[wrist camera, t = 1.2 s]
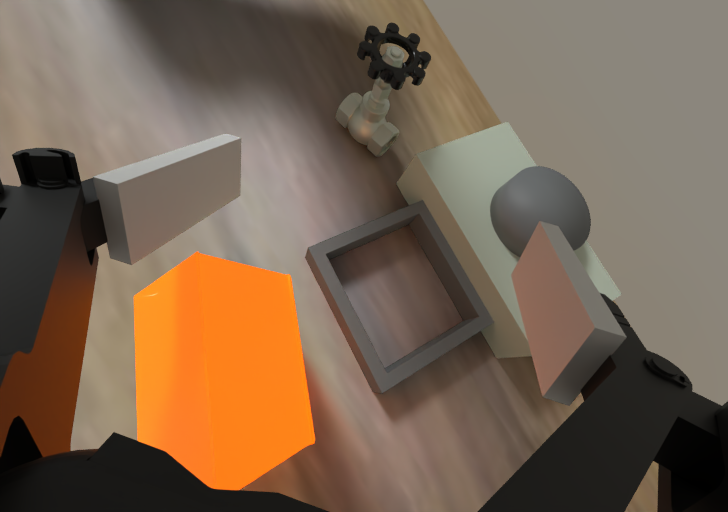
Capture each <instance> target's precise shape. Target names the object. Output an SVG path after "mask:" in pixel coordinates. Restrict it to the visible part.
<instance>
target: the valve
mask: <svg viewBox="0 0 728 512" xmlns="http://www.w3.org/2000/svg"><path fill="white" fill-rule="evenodd" d="M398 32H399V27H398V26H397V25H396V24H395V23H389V24H388V25H387V28H386V31H385V33H380V32H379V30H378V28H377V27H375V26H369V27H368V28H367V30H366V34H365V41H362V42H361V43H360V44H359V48H358V52H357V56H358V57H359V58H360V59H362V60H364V59H365V56H370V58H371V60H372V62H371V63H370V66H369V69H368V76H369V77H370V78H372V79H376V80H375V82H374V85H373V89H372V91H368V92H366V93H365V94H364V96H363V97H362V96H361V95H360V94H358V93H351V94H350V95H348V96H347V97H346V98H345V99H344V100H343V101H342V103H341V104H340V106H339V107H338V109H337V112H336V120H337V121H338V122H339V123H340V124H341V125H342V126H343V127H344V128H348V129H349V132H350V134H351V135H352V137H353V138H354V139H355V140H356V141H357V142H359V143H361V144H363V145H368V146H367V149H368V150H370V151H371V152H372V153H373V154H374V155H375V156H376V157H379V156H381V155H383V154H384V153H385V152H386V151H387V150H388V149H389V148H390V147H391V145H392V144H393V143H394V142H395V140H396V139H397V137H398V135H399V130H398V129H397V128H396V127H395V126H394V125H393V124H391V123H390V122H386V119H385V116H386V115H387V113H388V110H389V108H390V103H389V100H388V99H387V98H388V96H389V93H390V91H391V88H393V89H395V90H399V89H401V88H402V86H403V84H404V82H405V79H406V77H409V76H411V77H412V78H413V81H412V84H414V85H420V84H421V83H422V81H423V79H424V77H425V71H424V70H423V69H426V68H427V66H428V64H429V62H430V60H431V56H430V54H429V53H427V52H425V51H423V52H419V51H417V47H418V44H419V42H420V37H419V36H418V35H417V34H414V33H411V34H410V35H409V36H408V37H407V38H406V37H403V36H401V35H400V34H399V33H398ZM369 40H371V41H372V43H371V44H370V43H369V42H368V41H369ZM384 43H393V44H397V45H399V46H401V47H402V48H404V49H405V50H406V51H407V52H408V54H409V57H408V59H407V61H406V62H405V63H403V58H404V52H403V51H402V50H401V49H400V48H398V47H396V46H390V47H388V48H387V50H386V53H385V54H384V55H383V56H381V54H380V51H379V50H380V46H381V44H384ZM419 64H421V68H420V67H418V65H419Z"/></svg>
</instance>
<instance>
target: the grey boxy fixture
mask: <svg viewBox="0 0 728 512" xmlns="http://www.w3.org/2000/svg"><path fill="white" fill-rule="evenodd" d="M396 184H397V186H398V188H399V190H400V191H401V193H402V195H403V196H404V198H405V200H406V202H407V203H408V205H409V206H407V207H404V208H402V209H399V210H397V211H395V212H392V213H390V214H387V215H385V216H383V217H380V218H378V219H375V220H373V221H371V222H368V223H366V224H363V225H361V226H359V227H356V228H354V229H351V230H349V231H347V232H344V233H342V234H339V235H337V236H335V237H332V238H330V239H327V240H325V241H323V242H320V243H318V244H316V245H313V246H311V247H308V250H307V253H306V256H305V258H306V260H307V262H308V264H309V266H310V268H311V270H312V272H313V274H314V276H315V278H316V280H317V282H318V284H319V286H320V288H321V290H322V292H323V294H324V296H325V298H326V300H327V302H328V304H329V306H330V308H331V310H332V312H333V314H334V316H335V318H336V320H337V322H338V324H339V326H340V328H341V330H342V332H343V334H344V336H345V338H346V340H347V342H348V344H349V346H350V348H351V350H352V352H353V354H354V356H355V358H356V360H357V361H358V363H359V365H360V367H361V369H362V371H363V373H364V375H365V377H366V379H367V381H368V383H369V385H370V387H371V389H372V391H373V392H377V393H384V392H385V391H387V390H388V389H390V388H391V387H393V386H395V385H396V384H398V383H399V382H401V381H402V380H404V379H406V378H407V377H409V376H410V375H412V374H413V373H415V372H417V371H418V370H420V369H421V368H423V367H424V366H426V365H428V364H429V363H431V362H432V361H434V360H436V359H437V358H439V357H440V356H442V355H443V354H445V353H447V352H448V351H450V350H451V349H453V348H454V347H456V346H458V345H459V344H461V343H462V342H464V341H465V340H467V339H469V338H470V337H472V336H473V335H475V334H476V333H478V332H480V331H481V332H482V334H483V336H484V337H485V339H486V341H487V343H488V344H489V346H490V348H491V350H492V351H493V353H494V355H495V356H496V358H511V357H527V356H532V355H531V351H530V347H529V343H528V339H527V335H526V332H525V328H524V324H523V320H522V316H521V312H520V308H519V304H518V301H517V297H516V293H515V289H514V285H513V281H512V277H511V274H512V272H513V270H514V268H515V267H516V265H517V263H518V261H519V259H520V257H521V255H522V253H523V251H524V249H525V248H526V246H527V244H528V242H529V240H530V238H531V236H532V234H533V232H534V230H535V228H536V227H537V225H538V223H539V221H542V222H545V223H549V224H552V225H556V226H559V228H560V230H561V231H562V233H563V235H564V236H565V238H566V239H567V241H568V243H569V244H570V246H571V248H572V249H573V251H574V252H575V254H576V256H577V257H578V259H579V261H580V262H581V264H582V265H583V267H584V269H585V270H586V272H587V273H588V275H589V277H590V278H591V280H592V282H593V283H594V285H595V286H596V288H597V290H598V291H599V293H602V294H605V295H606V296H607V297H608V298H609V299H611V300H612V301H613V300H614V299H615V298H617V297H618V296H620V295H621V292H620V291H619V289H618V288H617V286H616V285H615V283H614V282H613V280H612V279H611V277H610V276H609V274H608V273H607V271H606V270H605V268H604V267H603V265H602V264H601V262H600V261H599V259H598V258H597V256H596V254H595V253H594V251H593V250H592V249H591V247H590V245H589V244H588V243H587V241H586V240H587V238H588V235H589V232H590V226H591V224H590V223H591V221H590V220H591V219H590V213H589V209H588V206H587V204H586V202H585V199H584V198H583V196H582V194H581V193H580V191H579V190H578V189H577V187H576V186H575V185H574V184H573V183H572V182H571V181H570V180H569V179H568V178H566V177H565V176H564V175H562V174H561V173H559V172H557V171H555V170H553V169H550V168H546V167H540V166H537V165H536V164H535V162H534V161H533V159H532V158H531V156H530V155H529V153H528V152H527V150H526V149H525V147H524V146H523V144H522V143H521V141H520V140H519V138H518V137H517V135H516V134H515V132H514V130H513V129H512V128H511V126H510V125H509V123H508V122H505V123H502V124H499V125H496V126H494V127H491V128H488V129H485V130H482V131H480V132H477V133H474V134H471V135H468V136H465V137H463V138H460V139H457V140H454V141H451V142H449V143H446V144H443V145H440V146H437V147H434V148H432V149H429V150H426V151H423V152H420V153H418V154H416V155H415V156H414V158H413V159H412V161H411V162H410V164H409V165H408V167H407V168H406V170H405V171H404V173H403V174H402V176H401V177H400V179H399V180H398V182H397V183H396ZM407 225H410V227H411V229H412V231H413V233H414V234H415V236H416V238H417V240H418V241H419V243H420V245H421V247H422V248H423V250H424V252H425V254H426V255H427V257H428V259H429V261H430V262H431V264H432V266H433V268H434V269H435V271H436V273H437V275H438V276H439V278H440V280H441V282H442V283H443V285H444V287H445V289H446V291H447V292H448V294H449V296H450V298H451V299H452V301H453V303H454V305H455V306H456V308H457V310H458V312H459V313H460V315H461V317H462V319H463V320H464V321H463V322H461V323H459V324H458V325H456V326H454V327H453V328H451V329H449V330H448V331H446V332H445V333H443V334H441V335H440V336H438V337H436V338H435V339H433V340H431V341H430V342H428V343H426V344H425V345H423V346H421V347H420V348H418V349H416V350H415V351H413V352H412V353H410V354H408V355H407V356H405V357H403V358H402V359H400V360H398V361H397V362H395V363H393V364H392V365H390V366H388V367H387V368H384V366H383V364H382V362H381V361H380V359H379V357H378V355H377V353H376V351H375V349H374V347H373V345H372V343H371V341H370V339H369V337H368V335H367V333H366V331H365V329H364V328H363V326H362V324H361V322H360V320H359V318H358V316H357V314H356V312H355V310H354V308H353V306H352V304H351V302H350V300H349V298H348V296H347V295H346V293H345V291H344V289H343V287H342V285H341V283H340V281H339V279H338V277H337V275H336V273H335V271H334V269H333V267H332V265H331V263H330V262H329V259H332V258H334V257H336V256H339V255H341V254H343V253H345V252H348V251H350V250H352V249H354V248H357V247H359V246H361V245H363V244H366V243H368V242H370V241H373V240H375V239H377V238H379V237H382V236H384V235H386V234H388V233H391V232H393V231H395V230H397V229H400V228H402V227H404V226H407Z"/></svg>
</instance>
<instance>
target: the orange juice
mask: <svg viewBox="0 0 728 512" xmlns="http://www.w3.org/2000/svg"><path fill="white" fill-rule="evenodd" d="M134 321H135V358H136V396H137V433H138V441H139V442H142V443H144V444H147V445H150V446H152V447H155V448H158V449H161V450H163V451H166V452H167V453H168V454H169V455H171V456H172V457H173V458H174V459H175V460H177V461H178V462H179V463H180V464H181V465H183V466H184V467H185V468H186V469H188V470H189V471H190V472H191V473H192V474H194V475H195V476H196V477H197V478H198V479H200V480H201V481H202V482H203V483H205V484H206V485H207V486H209V487H211V488H214V489H223V490H240V489H241V488H243V487H244V486H246V485H247V484H249V483H251V482H252V481H254V480H255V479H257V478H258V477H260V476H261V475H263V474H264V473H266V472H268V471H269V470H271V469H272V468H274V467H275V466H277V465H278V464H280V463H281V462H283V461H284V460H286V459H288V458H289V457H291V456H292V455H294V454H295V453H297V452H298V451H300V450H301V449H303V448H305V447H306V446H308V445H311V444H315V442H314V441H315V435H314V428H313V421H312V415H311V408H310V401H309V395H308V388H307V381H306V375H305V368H304V361H303V354H302V348H301V341H300V334H299V328H298V321H297V314H296V308H295V301H294V294H293V288H292V281H291V276H290V274H288V275H285V274H281V273H277V272H273V271H269V270H265V269H261V268H256V267H252V266H248V265H244V264H240V263H236V262H232V261H228V260H224V259H220V258H216V257H212V256H208V255H204V254H200V253H198V252H196V253H195V254H193V255H192V256H190V257H189V258H188V259H186V260H185V261H183V262H182V263H180V264H179V265H178V266H176V267H175V268H173V269H172V270H171V271H169V272H168V273H166V274H165V275H163V276H162V277H161V278H159V279H158V280H156V281H155V282H153V283H152V284H151V285H149V286H148V287H146V288H145V289H143V290H142V291H141V292H139V293H138V294H136V295H135V296H134Z"/></svg>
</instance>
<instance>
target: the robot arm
mask: <svg viewBox="0 0 728 512" xmlns="http://www.w3.org/2000/svg"><path fill="white" fill-rule="evenodd" d="M12 156H13V159H14V162H15V165H16V168H17V171H18V174H19V177H20V181H21V186H20V187H17V186H9V185H2V182H1V179H0V512H328V511H326V510H323V509H320V508H318V507H315V506H312V505H309V504H307V503H304V502H301V501H299V500H296V499H293V498H290V497H288V496H285V495H282V494H280V493H274V492H257V491H240V490H223V489H214V488H211V487H209V486H207V485H206V484H205V483H203V482H202V481H201V480H200V479H198V478H197V477H196V476H195V475H194V474H192V473H191V472H190V471H189V470H188V469H186V468H185V467H184V466H183V465H181V464H180V463H179V462H178V461H177V460H175V459H174V458H173V457H172V456H171V455H169V454H168V453H167V452H166V451H163V450H161V449H158V448H155V447H152V446H150V445H147V444H144V443H142V442H139V441H136V440H134V439H131V438H128V437H125V436H123V435H120V434H117V433H115V432H114V433H113V434H112V435H111V436H110V437H109V438H108V439H107V440H106V441H105V443H104V444H103V445H102V446H101V447H100V448H99V449H88V450H75V451H70V443H71V434H72V428H73V421H74V415H75V408H76V402H77V395H78V389H79V382H80V376H81V369H82V363H83V356H84V350H85V343H86V337H87V330H88V324H89V317H90V311H91V304H92V298H93V291H94V285H95V278H96V272H97V265H98V259H99V257H98V253H97V249H96V247H98V246H100V245H102V244H104V243H106V242H107V245H108V250H109V255H110V258H111V259H114V260H118V261H121V262H124V263H127V264H130V265H132V264H134V263H136V262H137V261H139V260H140V259H142V258H143V257H145V256H147V255H148V254H150V253H151V252H153V251H154V250H156V249H158V248H159V247H161V246H162V245H164V244H165V243H167V242H168V241H170V240H172V239H173V238H175V237H176V236H178V235H179V234H181V233H183V232H184V231H186V230H187V229H189V228H190V227H192V226H193V225H195V224H197V223H198V222H200V221H201V220H203V219H204V218H206V217H208V216H209V215H211V214H212V213H214V212H215V211H217V210H219V209H220V208H222V207H223V206H225V205H226V204H228V203H229V202H231V201H233V200H234V199H236V198H237V197H239V196H240V178H241V138H240V137H236V136H233V135H229V134H222V135H219V136H216V137H213V138H210V139H207V140H204V141H201V142H198V143H194V144H191V145H188V146H185V147H182V148H179V149H176V150H173V151H170V152H167V153H164V154H161V155H158V156H155V157H152V158H149V159H146V160H142V161H139V162H136V163H133V164H130V165H127V166H124V167H121V168H118V169H115V170H112V171H109V172H106V173H103V174H100V175H97V176H94V177H93V178H91V179H88V180H85V181H82V182H81V180H80V176H79V172H78V167H77V163H76V159H75V155H74V154H73V153H71V152H69V151H66V150H62V149H54V148H33V149H25V150H21V151H18V152H16V153H14V154H13V155H12ZM511 277H512V281H513V285H514V289H515V293H516V297H517V301H518V304H519V308H520V312H521V316H522V320H523V324H524V328H525V332H526V335H527V339H528V343H529V347H530V351H531V355H532V359H533V363H534V366H535V370H536V374H537V378H538V382H539V386H540V390H541V393H542V397H543V398H547V399H550V400H553V401H556V402H559V403H562V404H565V405H568V406H570V404H571V403H572V402H573V401H574V400H575V398H576V397H577V396H578V395H579V394H580V392H581V393H582V396H583V399H584V402H583V403H582V404H581V405H580V406H579V407H578V408H577V409H576V410H575V411H574V412H573V413H572V414H571V415H570V417H569V418H568V419H567V420H566V421H565V422H564V423H563V424H562V425H561V426H560V427H559V428H558V429H557V430H556V431H555V432H554V433H553V434H552V435H551V436H550V437H549V438H548V439H547V440H546V441H545V442H544V443H543V444H542V446H541V447H540V448H539V449H538V450H537V451H536V452H535V453H534V454H533V455H532V456H531V457H530V458H529V459H528V460H527V461H526V462H525V463H524V464H523V465H522V466H521V467H520V468H519V469H518V470H517V471H516V472H515V473H514V475H513V476H512V477H511V478H510V479H509V480H508V481H507V482H506V483H505V484H504V485H503V486H502V487H501V488H500V489H499V490H498V491H497V492H496V493H495V494H494V495H493V496H492V497H491V498H490V499H489V500H488V501H487V503H486V504H485V505H484V506H483V507H482V508H481V509H480V510H479V511H478V512H624V511H625V510H626V508H627V506H628V504H629V502H630V501H631V499H632V497H633V495H634V494H635V492H636V490H637V488H638V486H639V485H640V483H641V481H642V479H643V478H644V476H645V474H646V472H647V470H648V469H649V467H650V465H651V463H652V461H655V462H656V463H658V464H659V469H658V512H728V402H726V403H725V404H724V405H723V406H721V405H718V404H717V403H715V402H713V401H711V400H709V399H707V398H705V397H703V396H701V395H698V394H696V393H694V392H692V384H691V382H690V380H689V379H688V377H687V376H686V375H685V374H684V373H683V372H682V371H681V370H680V369H679V368H678V367H677V366H675V365H674V364H673V363H671V362H670V361H668V360H667V359H665V358H663V357H661V356H659V355H657V354H655V353H652V352H650V351H647V350H646V348H645V347H644V345H643V344H642V342H641V341H640V339H639V338H638V336H637V335H636V333H635V332H634V330H633V329H632V327H630V324H629V323H628V321H627V319H626V318H624V315H623V313H622V312H621V310H620V309H619V307H618V306H617V305H616V304H615V303H614V302H613V301H612V300H611V299H609V298H608V297H607V296H606V295H605V294H602V293H599V291H598V290H597V288H596V286H595V285H594V283H593V282H592V280H591V278H590V277H589V275H588V273H587V272H586V270H585V269H584V267H583V265H582V264H581V262H580V261H579V259H578V257H577V256H576V254H575V252H574V251H573V249H572V248H571V246H570V244H569V243H568V241H567V239H566V238H565V236H564V235H563V233H562V231H561V230H560V228H559V226H556V225H552V224H549V223H545V222H542V221H539V223H538V225H537V227H536V228H535V230H534V232H533V234H532V236H531V238H530V240H529V242H528V244H527V246H526V248H525V249H524V251H523V253H522V255H521V257H520V259H519V261H518V263H517V265H516V267H515V268H514V270H513V272H512V274H511Z"/></svg>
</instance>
